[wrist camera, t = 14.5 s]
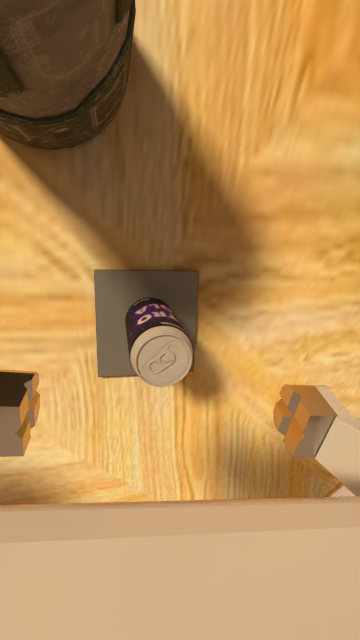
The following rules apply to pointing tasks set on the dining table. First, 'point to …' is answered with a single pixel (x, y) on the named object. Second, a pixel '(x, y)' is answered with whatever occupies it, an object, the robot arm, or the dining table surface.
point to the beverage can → (157, 343)
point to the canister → (62, 68)
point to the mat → (121, 293)
